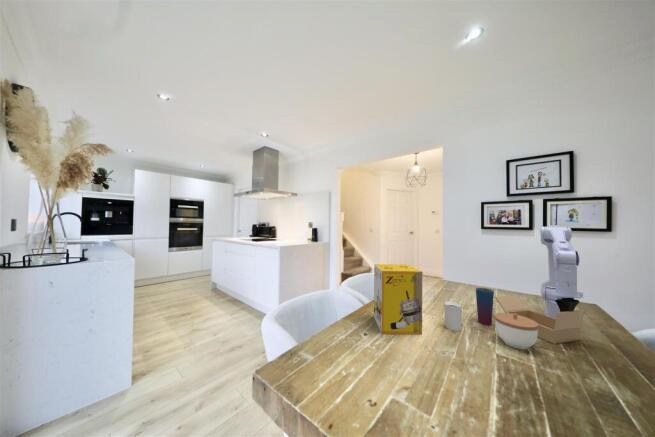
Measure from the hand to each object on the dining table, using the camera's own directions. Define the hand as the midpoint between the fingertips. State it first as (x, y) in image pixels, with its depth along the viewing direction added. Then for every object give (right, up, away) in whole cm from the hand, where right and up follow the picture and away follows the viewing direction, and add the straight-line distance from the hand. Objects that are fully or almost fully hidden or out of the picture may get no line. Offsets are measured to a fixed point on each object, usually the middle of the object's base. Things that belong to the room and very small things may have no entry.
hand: (566, 317), depth 85 cm
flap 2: (0, -1, -1) cm, 1 cm away
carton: (-2, -10, +8) cm, 13 cm away
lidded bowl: (-21, -9, -2) cm, 23 cm away
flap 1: (-5, -2, +20) cm, 20 cm away
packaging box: (-62, -9, +12) cm, 63 cm away
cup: (-20, -10, +16) cm, 27 cm away
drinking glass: (-38, -9, +10) cm, 40 cm away
